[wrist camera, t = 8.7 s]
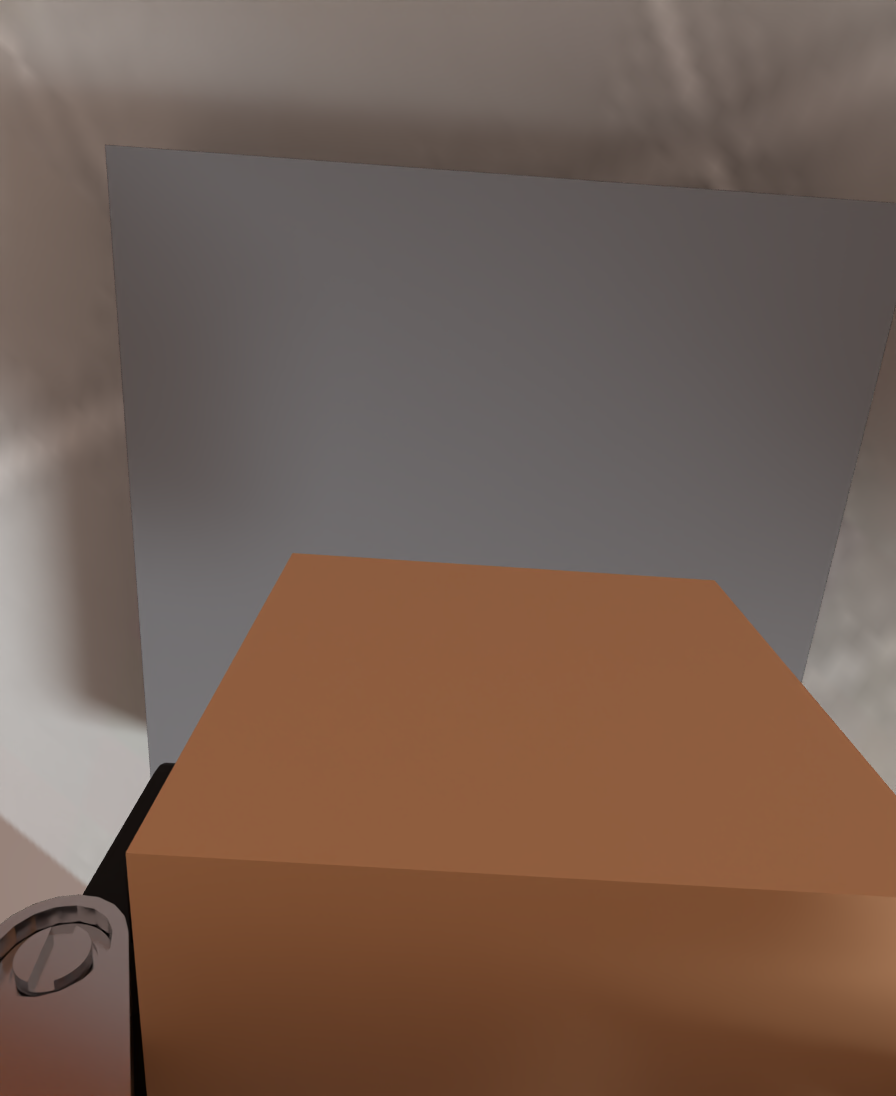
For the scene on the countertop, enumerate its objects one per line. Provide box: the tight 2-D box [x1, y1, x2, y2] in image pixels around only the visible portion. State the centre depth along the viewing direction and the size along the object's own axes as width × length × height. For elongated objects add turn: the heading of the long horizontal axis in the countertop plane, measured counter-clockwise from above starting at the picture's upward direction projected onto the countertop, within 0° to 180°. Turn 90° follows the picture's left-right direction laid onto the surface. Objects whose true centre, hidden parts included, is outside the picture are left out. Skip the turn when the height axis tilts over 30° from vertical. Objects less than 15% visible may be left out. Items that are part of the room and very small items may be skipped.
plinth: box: [105, 145, 896, 777], centre depth 22 cm, size 18×18×4 cm
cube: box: [126, 553, 896, 1096], centre depth 9 cm, size 6×6×6 cm
